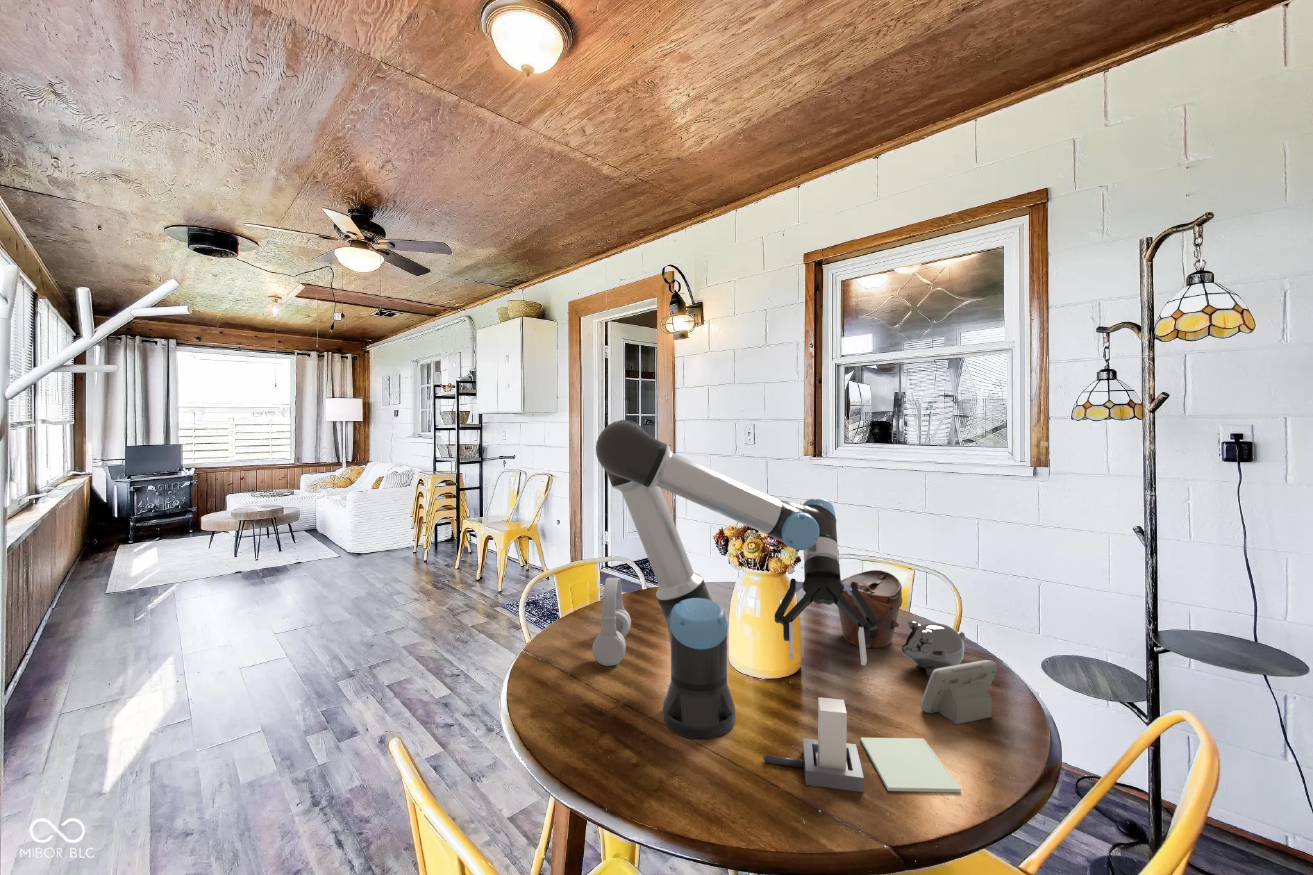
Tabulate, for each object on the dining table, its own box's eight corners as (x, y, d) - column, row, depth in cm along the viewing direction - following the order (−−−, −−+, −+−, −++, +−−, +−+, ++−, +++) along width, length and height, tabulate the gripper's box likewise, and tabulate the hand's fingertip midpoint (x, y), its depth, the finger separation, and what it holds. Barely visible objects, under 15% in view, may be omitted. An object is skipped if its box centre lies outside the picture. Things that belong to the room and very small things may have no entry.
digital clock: (981, 698, 121) (982, 651, 120) (1010, 721, 112) (1012, 671, 111) (910, 702, 119) (911, 655, 119) (935, 726, 110) (936, 675, 110)
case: (832, 649, 145) (833, 583, 144) (832, 622, 164) (834, 563, 163) (905, 660, 140) (907, 591, 139) (897, 630, 159) (899, 569, 158)
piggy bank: (892, 660, 139) (893, 616, 139) (951, 659, 139) (952, 615, 139) (913, 682, 128) (914, 634, 128) (977, 681, 128) (978, 633, 127)
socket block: (762, 778, 95) (762, 764, 95) (764, 746, 104) (764, 733, 104) (863, 792, 92) (863, 777, 92) (855, 757, 101) (855, 744, 101)
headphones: (625, 667, 137) (624, 591, 136) (591, 667, 137) (590, 591, 136) (631, 634, 157) (630, 568, 156) (602, 634, 157) (601, 568, 156)
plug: (817, 778, 95) (817, 711, 95) (815, 759, 100) (815, 695, 100) (848, 782, 94) (849, 714, 94) (845, 763, 99) (845, 698, 99)
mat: (888, 790, 92) (888, 787, 92) (860, 740, 106) (860, 737, 106) (960, 792, 91) (961, 788, 91) (923, 741, 105) (923, 738, 105)
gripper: (879, 574, 121) (892, 672, 107) (764, 568, 126) (762, 661, 112) (884, 556, 116) (898, 657, 102) (763, 551, 121) (762, 646, 107)
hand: (827, 659), depth 107 cm, fingers open, 13 cm apart
